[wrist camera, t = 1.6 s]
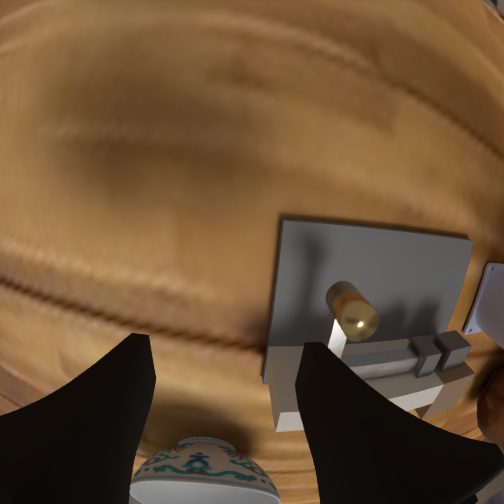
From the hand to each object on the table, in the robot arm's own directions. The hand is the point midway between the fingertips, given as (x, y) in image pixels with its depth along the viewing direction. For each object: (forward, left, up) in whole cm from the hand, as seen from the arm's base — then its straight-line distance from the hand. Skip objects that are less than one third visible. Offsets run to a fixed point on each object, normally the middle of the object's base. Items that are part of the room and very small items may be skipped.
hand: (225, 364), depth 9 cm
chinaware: (+2, +23, -10) cm, 25 cm away
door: (-11, +3, -9) cm, 15 cm away
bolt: (-9, +2, -6) cm, 11 cm away
